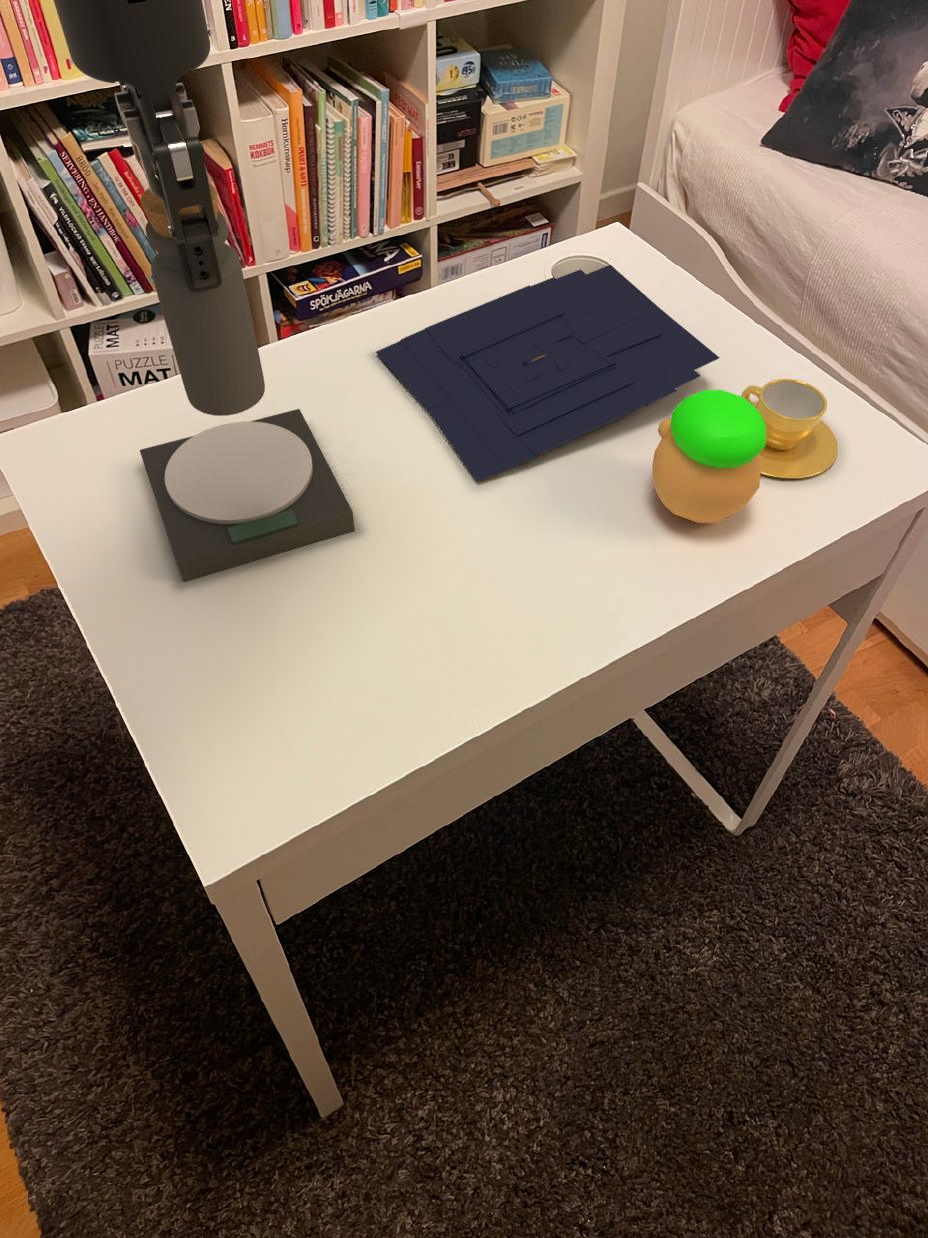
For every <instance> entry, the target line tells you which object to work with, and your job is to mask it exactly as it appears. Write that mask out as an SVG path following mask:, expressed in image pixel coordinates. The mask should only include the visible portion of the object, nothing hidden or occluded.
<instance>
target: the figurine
mask: <svg viewBox="0 0 928 1238" xmlns="http://www.w3.org/2000/svg"><path fill="white" fill-rule="evenodd" d="M657 431H658V432H657V433H658V435H659V437H660V441H659V443H658V444H657V446H656V448H655V450H654V453H653V459H652V464H651V465H652V468H651V469H652V470H651V471H652V482H653V486H654V488H655V491H656V495H657V496H658V497H659V499H660V501H661V503H662V504H663V506H664V507H665V508H667V509H668V510H669V511H670V512H671V513H672V514H673V515H675V516H678V517H681V518H684V519H685V520H689V521H692V522H693V523H694V522H695V523H697V524H715V523H718V522H720V521H722V520H724V519H726V518H728V517H730V516H733V515H734V514H737V513H738V512H740V511H742V510H743V508H745V506H746V505H747V504H748V503H749V502H750V501H751V500H752V499H753V497H754V496H755V494H756V493H757V491H759V488H760V484H761V474H762V473H761V463H762V457H761V455H760V451H761V450H762V449H763V448H764V447H765V446H766V424H765V422H764V420H763V418H762V416H761V414H760V412H759V411H758V410H757V409H756V408H755V407H754V406H753V405H752V404H751V403H750V402H748V401H747V400H746V399H745V398H744V397H741V395H738V394H735V393H732V392H730V391H727V390H723V389H705V390H701V391H698V392H696V393H694V394H691V395H688V396H686V397H685V398H684V399H682V401H680V402H679V404H677V405H676V406H675V408H674V409H673V410H672V412H671V417H667V418H664V419H662V420H661V422H660V423H659V425H658V429H657Z"/></svg>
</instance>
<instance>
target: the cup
mask: <svg viewBox="0 0 928 1238" xmlns="http://www.w3.org/2000/svg"><path fill="white" fill-rule="evenodd" d="M751 395H753V396H755V397H756V398H757V401H751ZM740 396H741V397H744V398H745V399H746V400H747V401H748V402H750V403H751V404H752V405H753V406H754V407H755V408H756V409H757V410H758V411H759V412H760V414H761V416H762V418H763V420H764V422H765V424H766V446H765V447H764V448H763V449H762V450H761V451H760V455H761V457H762V463H761V474H763V475H766V476H770V477H774V478H783V479H801V478H808V477H812V476H814V475H818V474H820V473H823V472H824V471H826V470H827V469H829V467H831V466H832V465H833V463H834V462H835V461H836V459H837V457H838V453H839V445H838V441H837V438H836V436H835V434H834V432H833V431H832V429H831V428H830V427H829V426H828V425H827V424H826V423H825V422H824V420H822V418H823V416H824V415H825V413H826V412H827V409H828V400H827V398H826V396H825V395H824V394H823V393H822V391H820V389H818V388H817V387H816V386H813V385H812V384H810V383H807V382H805V381H802V380H798V379H794V378H793V379H792V378H779V379H773V380H771V381H768V382H766V383H765V384H764V385H763V386H762V387H760V386H757V385H754V384H753V385H749V386H748V385H747V387H746V388H744V389H743V391H742V393H741V395H740Z"/></svg>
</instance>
